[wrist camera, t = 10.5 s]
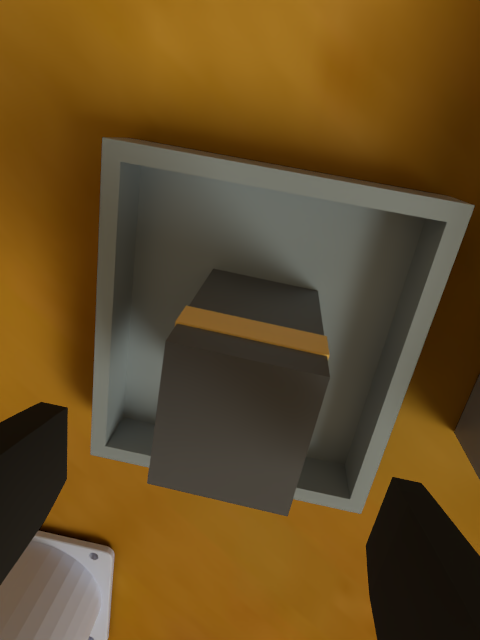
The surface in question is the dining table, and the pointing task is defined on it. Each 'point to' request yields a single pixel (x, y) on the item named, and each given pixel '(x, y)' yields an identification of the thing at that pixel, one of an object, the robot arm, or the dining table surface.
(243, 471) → the block
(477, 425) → the pale grey flat box
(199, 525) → the dining table surface
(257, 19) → the dining table surface
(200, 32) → the dining table surface
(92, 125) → the dining table surface
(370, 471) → the tray
